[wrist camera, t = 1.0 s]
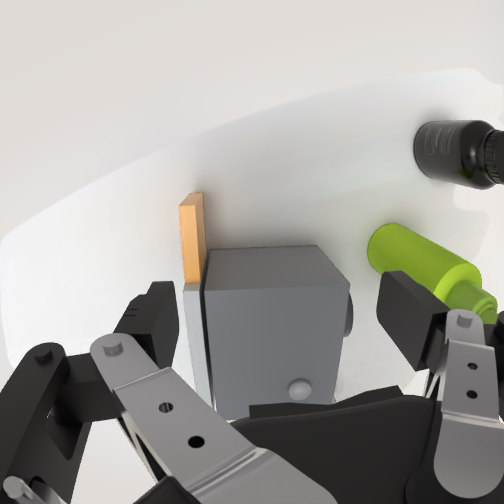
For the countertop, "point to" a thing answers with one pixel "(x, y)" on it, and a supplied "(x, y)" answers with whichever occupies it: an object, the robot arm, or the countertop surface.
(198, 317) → the side door
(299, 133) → the countertop surface
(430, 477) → the robot arm
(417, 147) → the supplement bottle
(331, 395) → the camera housing
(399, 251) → the soap dispenser
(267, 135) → the countertop surface
